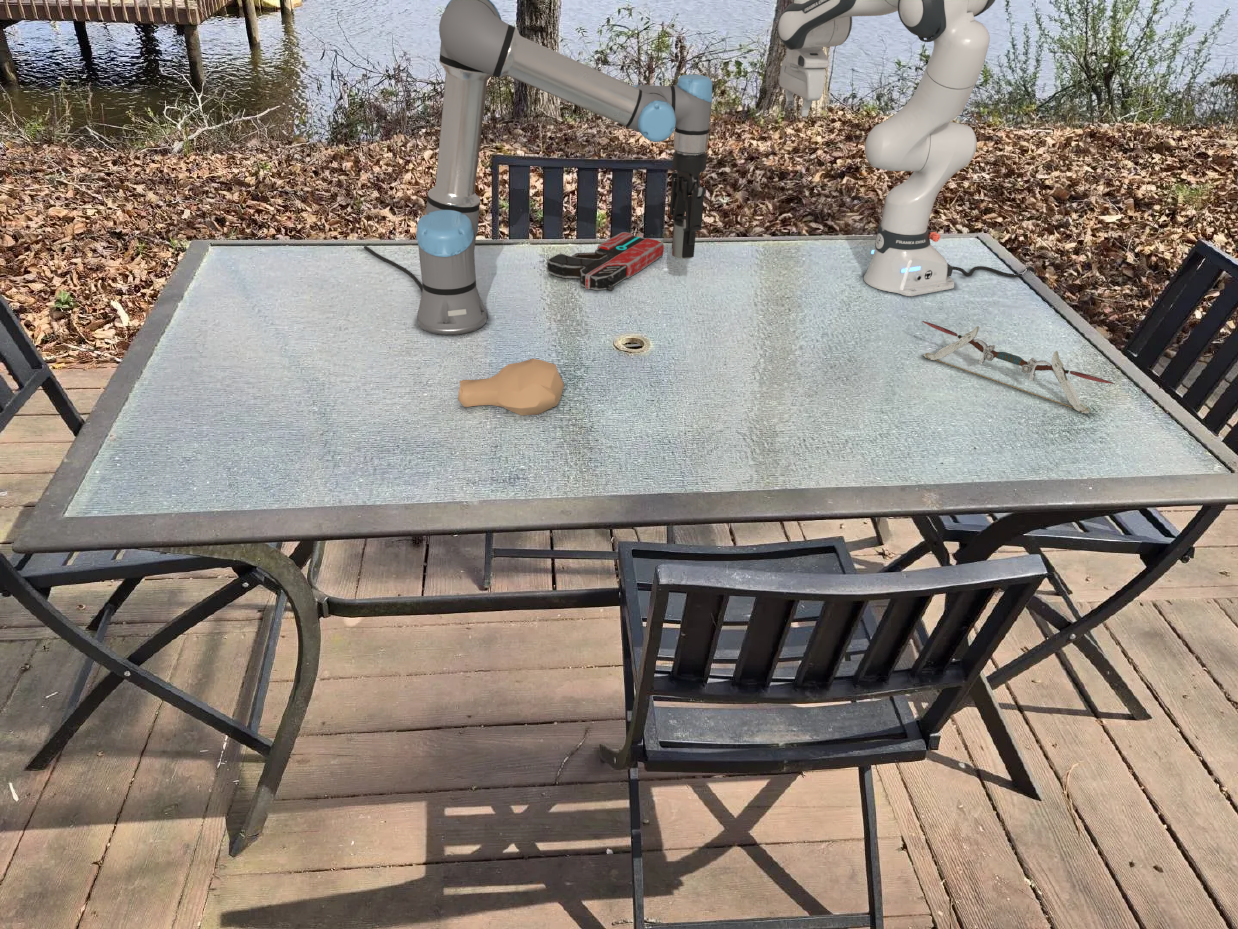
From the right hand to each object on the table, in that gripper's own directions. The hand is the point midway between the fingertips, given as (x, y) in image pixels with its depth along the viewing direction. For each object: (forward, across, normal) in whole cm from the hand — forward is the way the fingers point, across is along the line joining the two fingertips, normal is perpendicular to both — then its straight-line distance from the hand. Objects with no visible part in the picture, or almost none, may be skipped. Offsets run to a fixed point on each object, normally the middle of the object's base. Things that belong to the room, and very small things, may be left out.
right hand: (796, 111), depth 233 cm
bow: (+33, +94, +10) cm, 100 cm away
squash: (+33, +84, -89) cm, 127 cm away
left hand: (+23, +38, -42) cm, 61 cm away
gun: (+33, +17, -55) cm, 67 cm away
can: (+23, +38, -42) cm, 61 cm away
